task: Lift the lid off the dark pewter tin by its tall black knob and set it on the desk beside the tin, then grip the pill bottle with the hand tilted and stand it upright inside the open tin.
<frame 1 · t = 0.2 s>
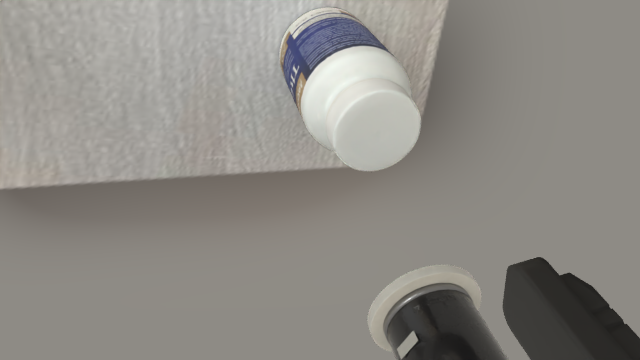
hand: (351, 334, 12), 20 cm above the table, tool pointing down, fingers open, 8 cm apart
pill bottle: (322, 51, 29), on the table
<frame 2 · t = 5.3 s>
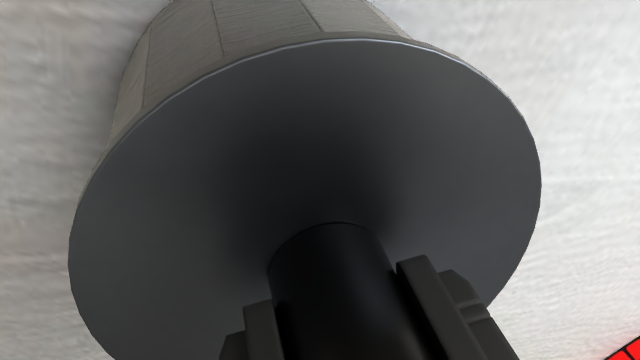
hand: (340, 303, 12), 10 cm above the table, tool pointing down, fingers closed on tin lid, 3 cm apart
tin: (272, 114, 20), on the table
tin lid: (322, 255, 14), point 9 cm above the table, touching gripper
when the fingers open (2 cm above the table, at t = 13.4 s): tin lid stays where it is, point 1 cm above the table.
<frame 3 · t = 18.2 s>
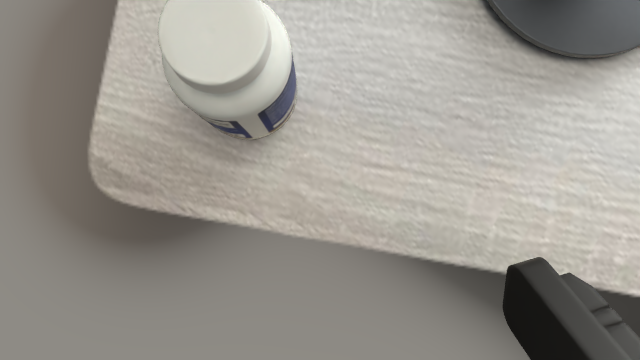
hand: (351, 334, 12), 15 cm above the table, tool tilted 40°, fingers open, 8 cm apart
pill bottle: (249, 93, 28), on the table
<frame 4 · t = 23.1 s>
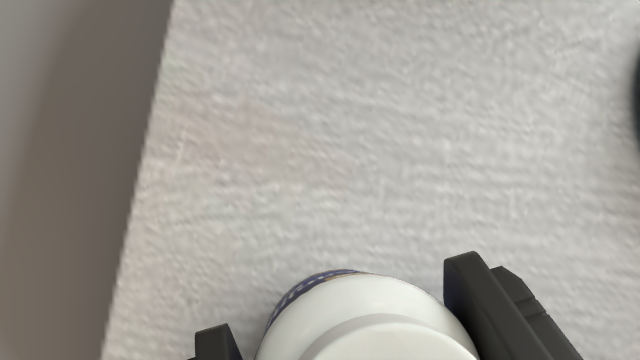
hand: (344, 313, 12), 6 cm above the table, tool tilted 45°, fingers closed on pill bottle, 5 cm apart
pill bottle: (337, 343, 18), on the table, touching gripper
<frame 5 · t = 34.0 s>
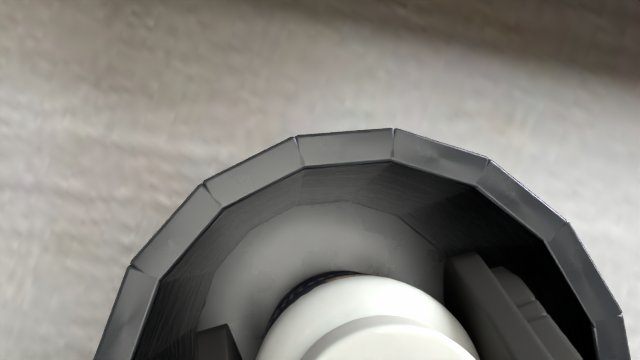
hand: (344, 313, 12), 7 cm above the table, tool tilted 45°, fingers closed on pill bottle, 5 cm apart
tin: (334, 335, 19), on the table
pill bottle: (338, 344, 18), point 1 cm above the table, touching gripper
when the fingers open (8 cm above the table, at t = 44.6 s): pill bottle drops 2 cm, resting on tin.
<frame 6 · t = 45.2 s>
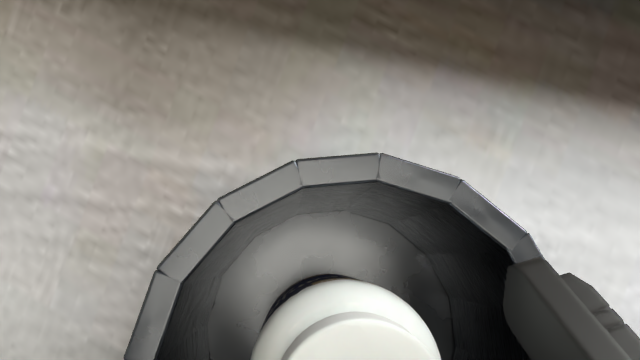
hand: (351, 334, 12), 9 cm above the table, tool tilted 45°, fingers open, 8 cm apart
tin: (331, 332, 21), on the table
pill bottle: (326, 338, 20), resting on tin
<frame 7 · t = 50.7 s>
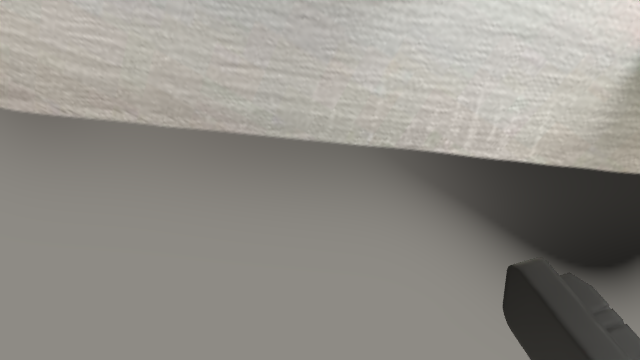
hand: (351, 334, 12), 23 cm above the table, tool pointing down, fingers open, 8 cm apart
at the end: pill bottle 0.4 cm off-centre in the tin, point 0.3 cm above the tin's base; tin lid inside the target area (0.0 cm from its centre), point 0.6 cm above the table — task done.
